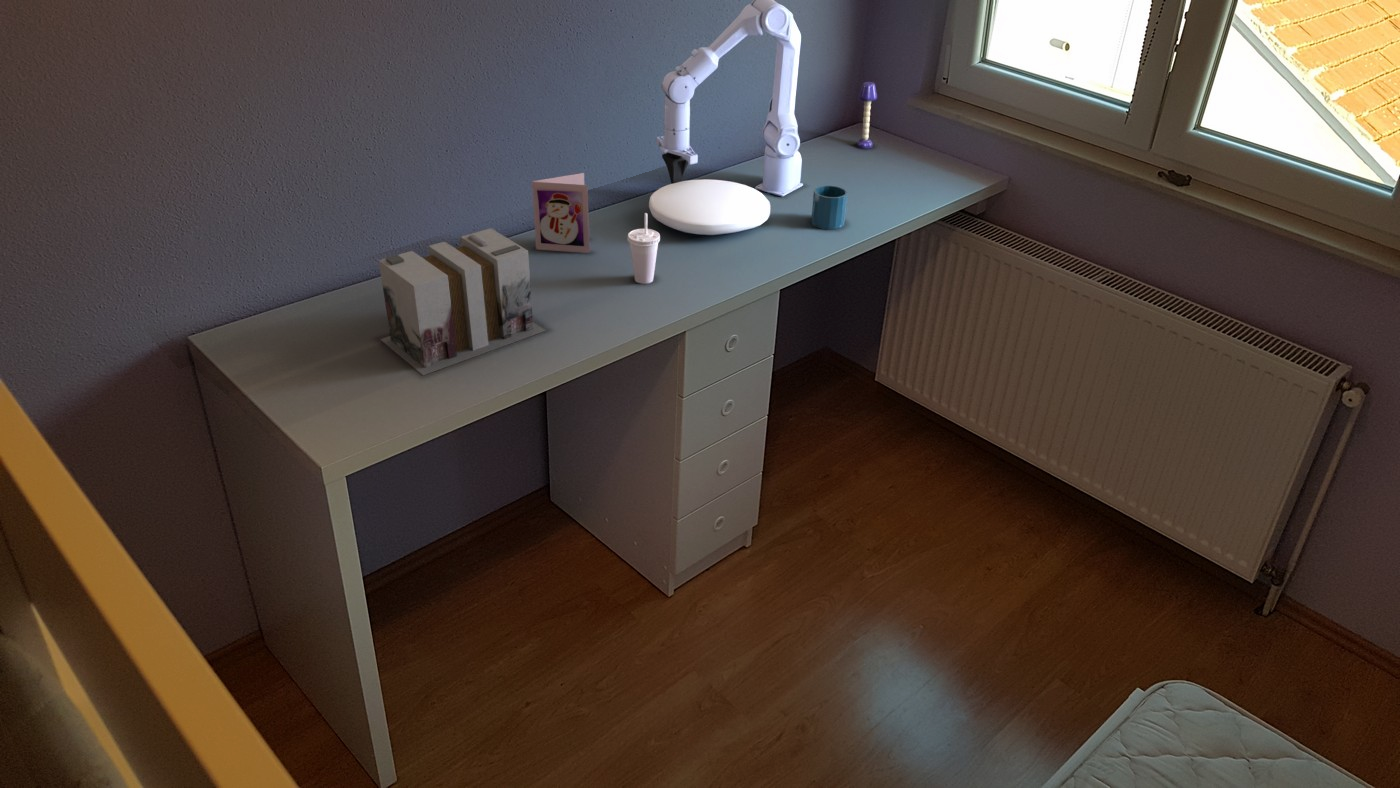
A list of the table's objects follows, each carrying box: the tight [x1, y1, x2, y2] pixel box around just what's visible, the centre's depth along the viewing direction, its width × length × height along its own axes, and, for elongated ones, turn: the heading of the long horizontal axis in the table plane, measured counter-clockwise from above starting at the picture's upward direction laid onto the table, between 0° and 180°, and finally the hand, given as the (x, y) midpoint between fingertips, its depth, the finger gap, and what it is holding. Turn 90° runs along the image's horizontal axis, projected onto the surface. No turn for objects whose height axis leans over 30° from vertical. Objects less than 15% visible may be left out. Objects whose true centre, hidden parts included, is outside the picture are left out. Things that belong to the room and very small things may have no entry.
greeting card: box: [531, 172, 591, 254], centre depth 223 cm, size 11×7×15 cm, turn 83°
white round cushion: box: [648, 178, 771, 236], centre depth 239 cm, size 28×6×27 cm
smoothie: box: [626, 212, 661, 285], centre depth 210 cm, size 6×6×14 cm
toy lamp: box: [855, 81, 878, 150], centre depth 279 cm, size 5×5×17 cm
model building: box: [378, 227, 547, 376], centre depth 189 cm, size 16×25×16 cm, turn 131°
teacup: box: [810, 184, 848, 231], centre depth 238 cm, size 7×7×8 cm
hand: (676, 184), depth 249 cm, fingers closed
